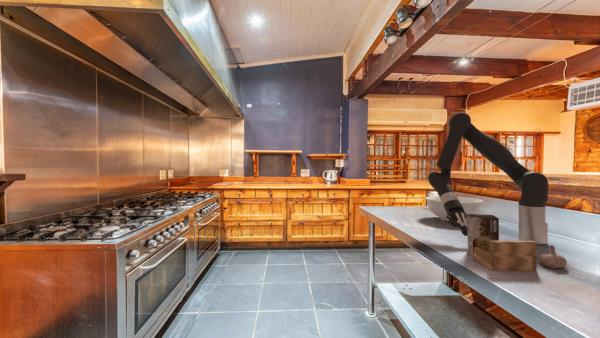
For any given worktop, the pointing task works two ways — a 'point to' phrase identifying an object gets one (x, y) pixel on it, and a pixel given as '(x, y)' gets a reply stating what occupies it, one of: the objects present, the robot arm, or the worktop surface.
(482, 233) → the coffee box
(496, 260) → the holder
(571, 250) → the worktop surface
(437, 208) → the bowl
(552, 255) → the garlic bulb
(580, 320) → the worktop surface
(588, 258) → the worktop surface
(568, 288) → the worktop surface
